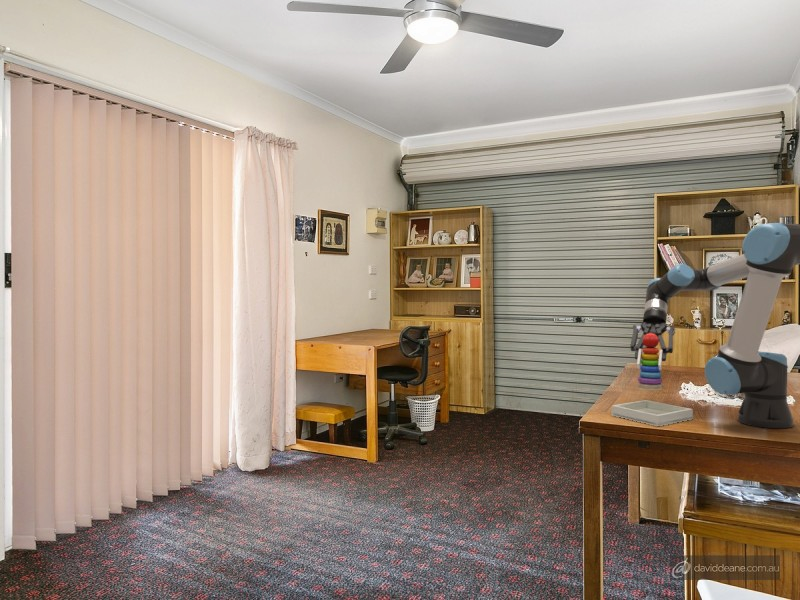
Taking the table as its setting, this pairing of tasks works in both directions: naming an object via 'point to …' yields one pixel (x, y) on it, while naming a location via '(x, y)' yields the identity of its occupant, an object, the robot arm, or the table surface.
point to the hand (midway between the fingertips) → (649, 366)
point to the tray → (652, 412)
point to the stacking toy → (650, 364)
